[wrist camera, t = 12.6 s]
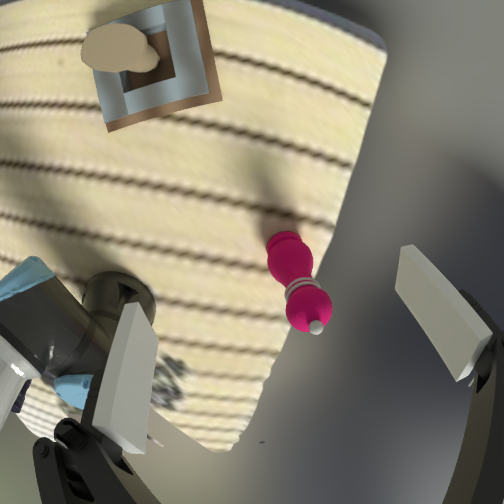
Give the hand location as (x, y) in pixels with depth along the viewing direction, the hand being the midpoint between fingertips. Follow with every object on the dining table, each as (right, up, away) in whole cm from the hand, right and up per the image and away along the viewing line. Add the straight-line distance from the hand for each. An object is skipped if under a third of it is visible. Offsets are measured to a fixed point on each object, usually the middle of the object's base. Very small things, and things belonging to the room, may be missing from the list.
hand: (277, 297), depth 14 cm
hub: (-15, +29, +18) cm, 37 cm away
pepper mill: (+4, +3, +36) cm, 36 cm away
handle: (-15, +28, +17) cm, 36 cm away
